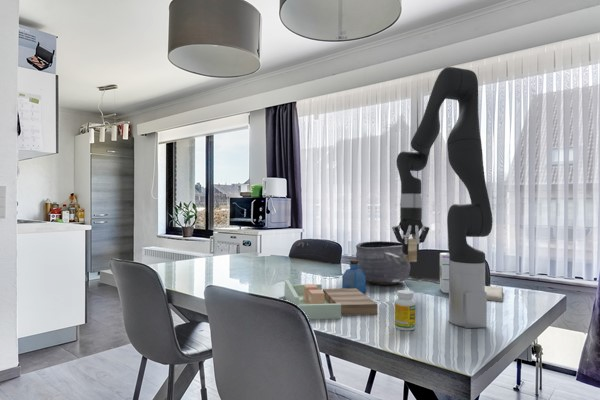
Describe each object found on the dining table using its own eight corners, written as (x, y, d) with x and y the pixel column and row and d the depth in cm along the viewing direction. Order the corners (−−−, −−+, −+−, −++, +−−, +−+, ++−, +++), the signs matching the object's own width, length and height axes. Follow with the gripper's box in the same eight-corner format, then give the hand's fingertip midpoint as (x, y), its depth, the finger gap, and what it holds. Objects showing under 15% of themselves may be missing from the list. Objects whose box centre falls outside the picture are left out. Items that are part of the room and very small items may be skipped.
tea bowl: (372, 273, 180) (371, 236, 179) (418, 280, 167) (418, 240, 166) (345, 285, 160) (345, 244, 159) (396, 294, 147) (396, 249, 146)
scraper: (424, 264, 132) (424, 241, 132) (401, 264, 130) (401, 241, 130) (404, 257, 148) (405, 236, 148) (383, 257, 146) (383, 236, 146)
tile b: (317, 287, 126) (305, 287, 125) (317, 302, 126) (305, 302, 125) (315, 284, 131) (303, 284, 130) (314, 298, 131) (303, 299, 130)
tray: (340, 318, 111) (341, 297, 111) (295, 319, 109) (295, 298, 109) (320, 295, 139) (321, 278, 139) (284, 296, 137) (284, 279, 137)
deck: (377, 314, 115) (377, 304, 116) (338, 315, 114) (338, 305, 114) (355, 296, 137) (356, 288, 137) (322, 297, 135) (322, 288, 136)
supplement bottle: (398, 323, 107) (398, 288, 107) (417, 327, 104) (418, 291, 104) (391, 328, 102) (392, 292, 102) (411, 332, 99) (412, 294, 99)
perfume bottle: (365, 293, 143) (365, 260, 144) (355, 295, 139) (356, 262, 139) (351, 290, 148) (352, 258, 148) (342, 292, 143) (342, 260, 143)
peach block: (324, 293, 117) (311, 293, 117) (324, 309, 117) (311, 310, 117) (321, 289, 122) (308, 289, 122) (320, 305, 122) (308, 305, 122)
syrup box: (457, 293, 144) (458, 254, 145) (441, 292, 146) (441, 254, 146) (454, 290, 150) (455, 252, 150) (438, 289, 151) (439, 252, 151)
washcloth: (502, 293, 148) (502, 285, 148) (503, 303, 132) (503, 294, 132) (468, 289, 154) (469, 282, 154) (465, 299, 138) (465, 290, 138)
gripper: (396, 206, 135) (396, 256, 135) (434, 206, 137) (433, 255, 137) (388, 206, 142) (388, 253, 142) (424, 206, 144) (423, 253, 144)
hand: (410, 254), depth 139 cm, fingers closed on scraper, 3 cm apart
